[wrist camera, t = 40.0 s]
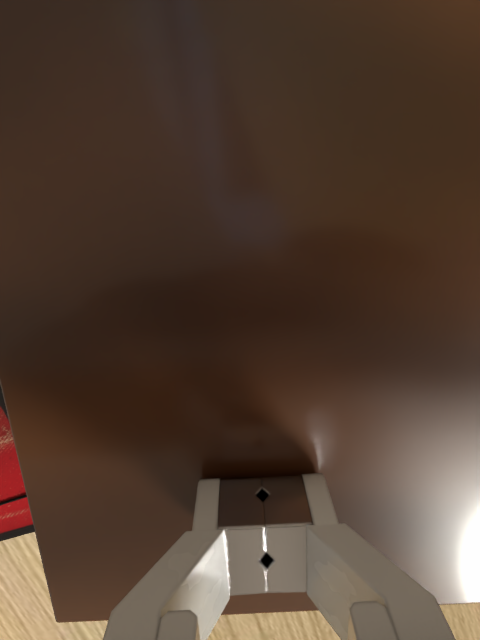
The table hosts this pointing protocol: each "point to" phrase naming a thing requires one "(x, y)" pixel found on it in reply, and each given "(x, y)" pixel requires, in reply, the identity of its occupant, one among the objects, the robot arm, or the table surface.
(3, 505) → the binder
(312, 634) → the table surface
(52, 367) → the chest lid
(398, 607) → the robot arm
